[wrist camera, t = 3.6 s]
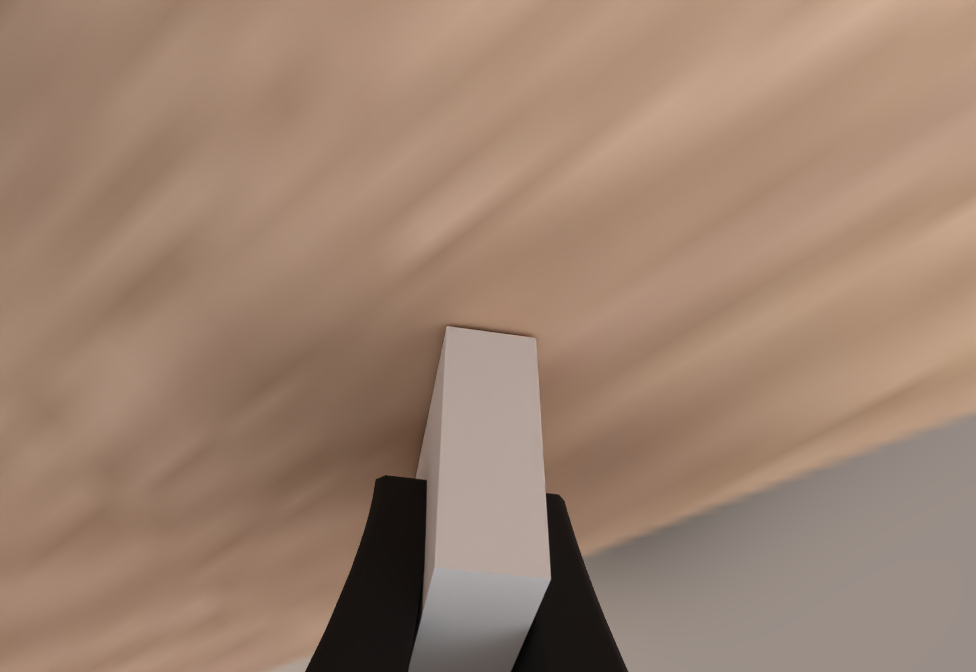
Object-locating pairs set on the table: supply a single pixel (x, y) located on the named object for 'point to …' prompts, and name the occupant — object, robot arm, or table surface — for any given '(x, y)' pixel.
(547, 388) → the table surface
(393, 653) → the robot arm
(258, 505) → the table surface
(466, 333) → the eraser
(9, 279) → the table surface
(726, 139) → the table surface
